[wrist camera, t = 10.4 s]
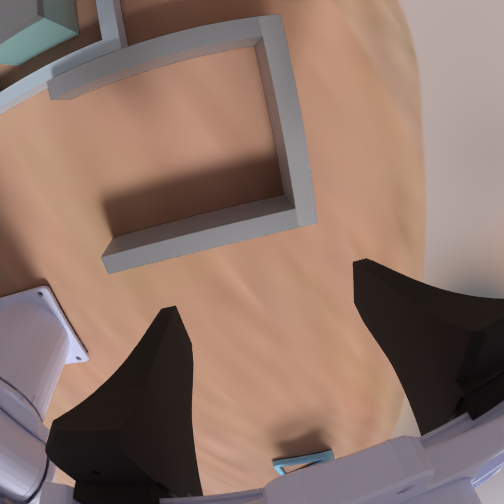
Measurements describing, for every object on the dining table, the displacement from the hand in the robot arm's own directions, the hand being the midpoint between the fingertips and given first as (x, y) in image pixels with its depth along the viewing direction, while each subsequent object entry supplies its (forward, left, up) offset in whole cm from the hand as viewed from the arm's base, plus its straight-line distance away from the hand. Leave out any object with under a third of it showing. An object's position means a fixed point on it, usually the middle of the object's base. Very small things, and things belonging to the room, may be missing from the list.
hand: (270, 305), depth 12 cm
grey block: (-10, +18, -10) cm, 23 cm away
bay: (-3, +6, -10) cm, 12 cm away
